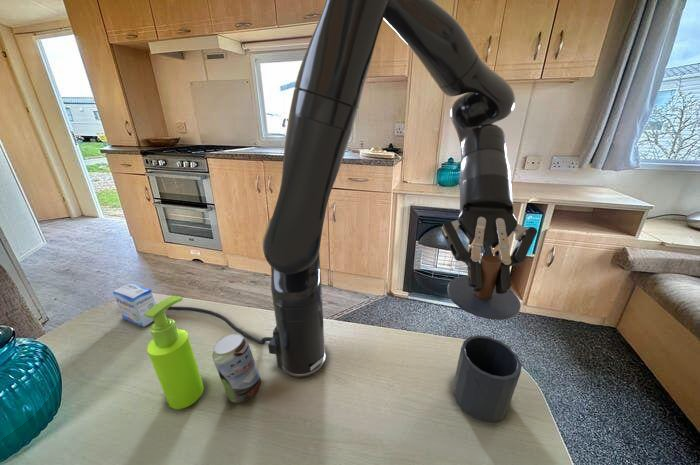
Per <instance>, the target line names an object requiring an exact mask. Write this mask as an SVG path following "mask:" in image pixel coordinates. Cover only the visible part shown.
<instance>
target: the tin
mask: <svg viewBox="0 0 700 465" xmlns="http://www.w3.org/2000/svg"><path fill="white" fill-rule="evenodd" d="M460 347H461V348H460V352H459V357H458V360H457V366H456V370H455V375H454V379H453V384H452V394H453V397H454V400H455V402H456V403H457V405H458V406H459V407H460V409H462V410H463V411H464V412H465V413H466V414H467V415H468V416H470V417H471V418H474V419H475V420H478V421H481V422H486V423H495V422H496V423H497V422H499V421H501V420H503V419H504V417H505V416H506V415H507V413H508V410H509V407H510V404H511V402H512V398H513V395H514V394H515V390H516V387H517V384H518V381H519V380H520V379H519V378H520V376H521V373H522V365H523V364H522V361H521V360H520V358H519V356H518V354H517V353H516V351H514V350H513V349H512V348H511V347H510V346H509V345H507V344H505V343H504V342H502V341H501V340H499V339H497V338H494V337H490V336H486V335H479V334H478V335H472V336H469V337H467V338H465V339H464V340H463V341H462V344H461V346H460Z"/></svg>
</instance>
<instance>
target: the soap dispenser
mask: <svg viewBox="0 0 700 465" xmlns="http://www.w3.org/2000/svg"><path fill="white" fill-rule="evenodd" d="M182 300H183V297H182V296H178V295H172V296H169V297H167V298H165V299H163V300H161V301H159V302H158V303H156V305H155V306H154V307H152V308H151V309H150V310H148V311H147V312H146V313H144V314H145V316H146V317H149V318H152V319H153V320H154V321H153V324H152V325H151V326H150V327H149V328H150V333H151V336H152V339H151V340H150V341H149V343H148V345H147V346H146V351H147V354H148V356H149V359H150V361H151V363H152V366H153V369H154V371H155V373H156V376H157V379H158V381H159V384H160V386H161V389H162V392H163V394H164V396H165V398H166V401H167V404H168V406H169V407H170V408H171V409H174V410H182V409H185V408H188V407H190V406H192V405H193V404H194V403H196V402H197V401H198V400H199V399H200V397H201V396H202V394H203V392H204V389H205V388H204V387H205V386H204V383H203V380H202V377H201V373H200V370H199V367H198V363H197V360H196V357H195V353H194V350H193V347H192V344H191V341H190V338H189V334H188V332H187V330H185V329H182V328H177V325H176V322H175V320H174V319H173V318H169V317H167V315H166V311H167V309H168V308H169V307H173V306H174V305H176V304H178V303H179V302H182Z"/></svg>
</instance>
